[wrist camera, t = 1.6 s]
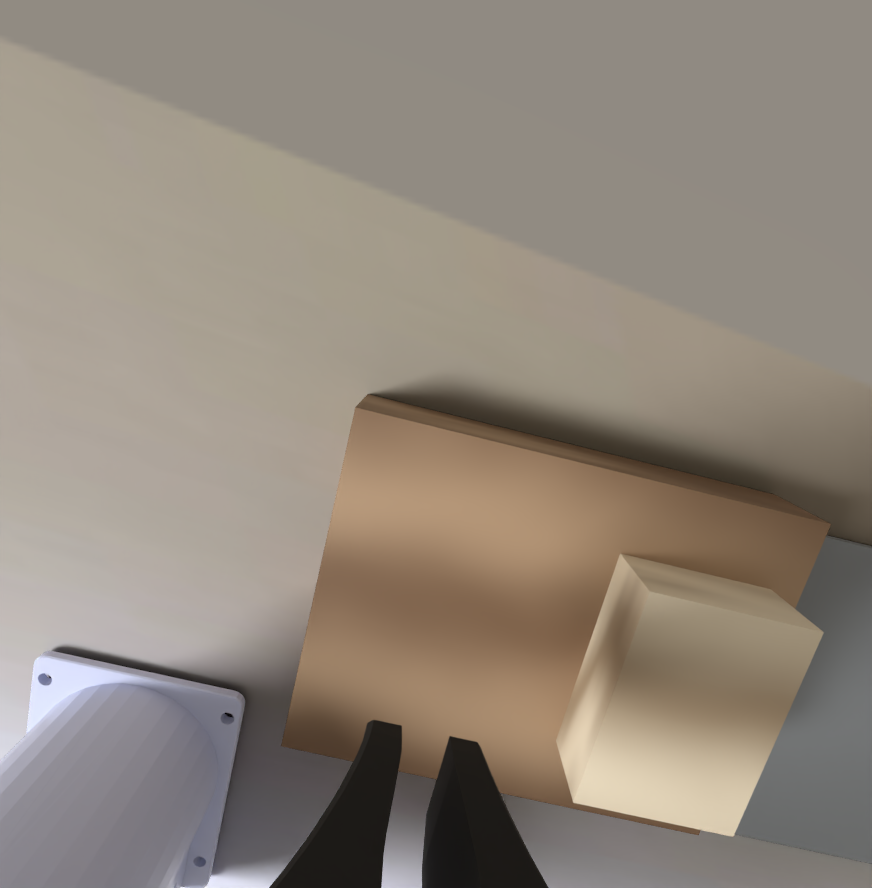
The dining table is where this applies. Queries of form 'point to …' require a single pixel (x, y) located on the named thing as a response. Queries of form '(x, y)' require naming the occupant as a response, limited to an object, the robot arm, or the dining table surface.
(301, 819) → the dining table surface
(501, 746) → the block
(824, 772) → the rubber mat
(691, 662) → the ash block
